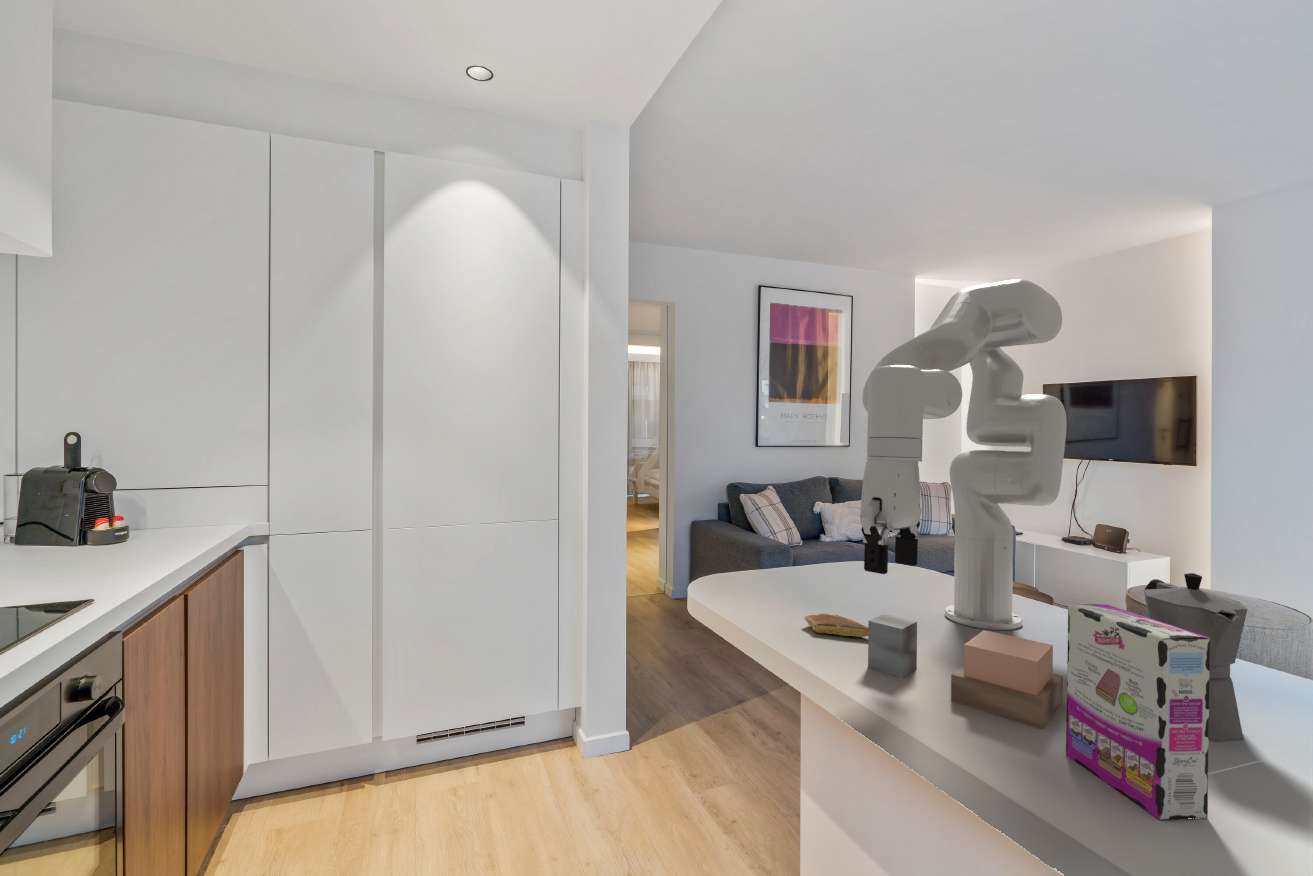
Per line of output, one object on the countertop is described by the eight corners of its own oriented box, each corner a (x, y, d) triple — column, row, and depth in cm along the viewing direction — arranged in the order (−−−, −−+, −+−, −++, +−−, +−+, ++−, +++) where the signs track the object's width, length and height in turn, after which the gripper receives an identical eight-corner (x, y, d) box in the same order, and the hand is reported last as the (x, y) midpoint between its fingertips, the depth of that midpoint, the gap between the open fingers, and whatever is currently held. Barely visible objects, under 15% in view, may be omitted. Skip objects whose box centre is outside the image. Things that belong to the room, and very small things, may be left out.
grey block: (883, 659, 90) (884, 613, 90) (916, 669, 86) (917, 621, 86) (867, 668, 86) (868, 620, 86) (901, 678, 83) (902, 629, 83)
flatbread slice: (877, 639, 97) (877, 628, 97) (840, 645, 94) (840, 634, 94) (834, 621, 107) (834, 611, 107) (799, 626, 104) (799, 616, 104)
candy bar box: (1212, 821, 52) (1215, 637, 52) (1160, 824, 52) (1163, 638, 52) (1106, 753, 63) (1108, 601, 63) (1062, 755, 63) (1064, 602, 63)
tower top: (983, 659, 81) (983, 630, 81) (1052, 676, 75) (1052, 645, 75) (963, 675, 75) (964, 644, 75) (1036, 695, 69) (1037, 661, 69)
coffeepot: (1282, 759, 63) (1286, 590, 62) (1179, 747, 65) (1182, 584, 65) (1187, 696, 78) (1190, 560, 78) (1105, 688, 80) (1108, 556, 80)
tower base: (977, 683, 82) (977, 654, 82) (1062, 707, 75) (1062, 676, 75) (950, 705, 75) (951, 674, 75) (1041, 734, 68) (1042, 700, 68)
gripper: (895, 451, 95) (892, 557, 95) (840, 449, 83) (837, 571, 83) (943, 452, 89) (941, 565, 89) (892, 450, 77) (889, 581, 77)
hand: (891, 568), depth 86 cm, fingers open, 9 cm apart
